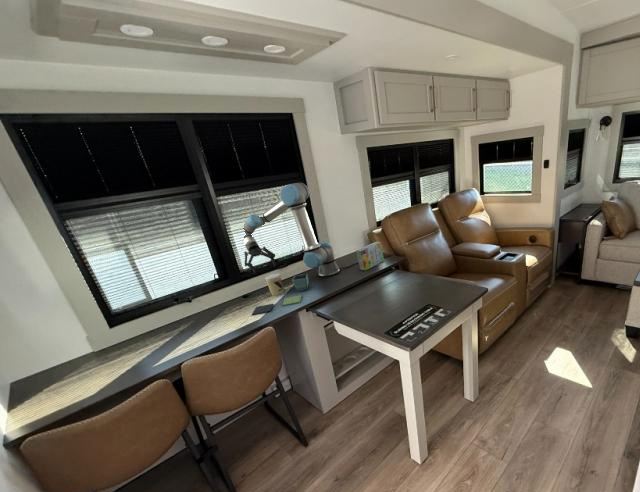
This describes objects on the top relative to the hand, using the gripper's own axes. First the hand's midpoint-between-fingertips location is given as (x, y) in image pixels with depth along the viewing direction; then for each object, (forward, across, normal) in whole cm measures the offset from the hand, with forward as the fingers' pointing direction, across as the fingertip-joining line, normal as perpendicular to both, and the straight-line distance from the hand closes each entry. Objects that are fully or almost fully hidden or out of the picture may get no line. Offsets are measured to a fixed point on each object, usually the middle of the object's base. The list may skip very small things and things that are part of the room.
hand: (265, 269), depth 206 cm
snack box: (+30, -66, +8) cm, 72 cm away
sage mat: (+33, 0, +12) cm, 35 cm away
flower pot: (+26, -13, +4) cm, 29 cm away
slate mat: (+30, +16, +9) cm, 35 cm away
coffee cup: (+18, 0, -4) cm, 18 cm away
